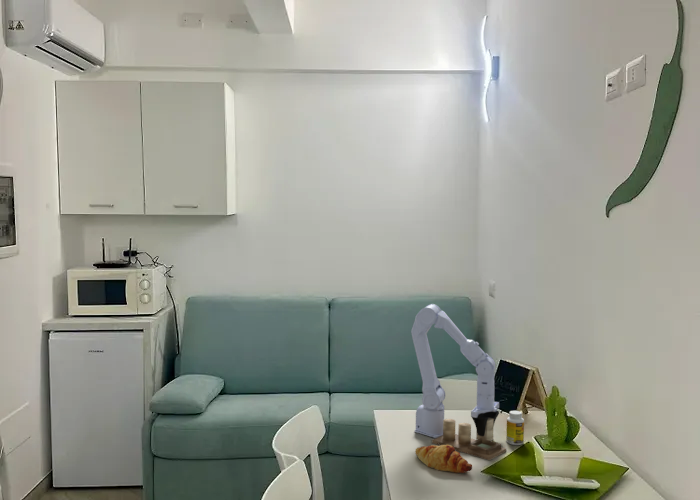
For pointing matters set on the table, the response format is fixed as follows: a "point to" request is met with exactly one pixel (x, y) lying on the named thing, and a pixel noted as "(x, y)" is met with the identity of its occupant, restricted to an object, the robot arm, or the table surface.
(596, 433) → the table surface
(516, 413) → the supplement bottle
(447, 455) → the croissant
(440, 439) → the walnut rail
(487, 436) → the maple block
